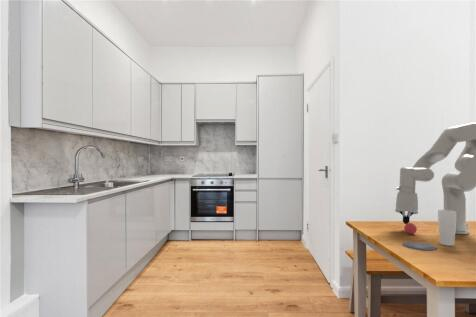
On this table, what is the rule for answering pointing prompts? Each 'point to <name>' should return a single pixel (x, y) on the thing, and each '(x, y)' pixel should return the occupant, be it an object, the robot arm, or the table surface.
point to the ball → (410, 228)
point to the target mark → (419, 246)
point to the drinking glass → (447, 227)
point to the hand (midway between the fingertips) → (405, 223)
